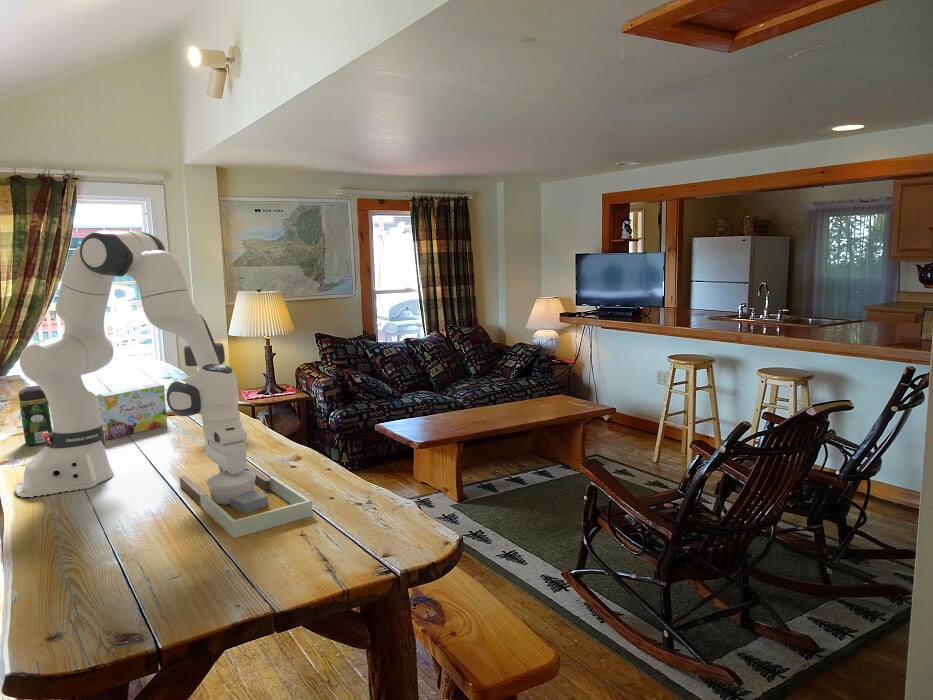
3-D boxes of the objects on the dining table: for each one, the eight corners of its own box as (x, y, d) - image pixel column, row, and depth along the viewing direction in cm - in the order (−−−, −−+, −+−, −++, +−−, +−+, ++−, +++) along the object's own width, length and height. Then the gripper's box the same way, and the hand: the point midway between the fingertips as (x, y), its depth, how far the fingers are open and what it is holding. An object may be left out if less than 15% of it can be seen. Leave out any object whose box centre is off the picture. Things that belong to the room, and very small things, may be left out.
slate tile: (244, 514, 150) (243, 503, 150) (231, 508, 154) (230, 498, 154) (268, 506, 155) (267, 496, 154) (254, 500, 159) (253, 490, 158)
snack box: (109, 440, 217) (104, 395, 215) (100, 438, 220) (95, 394, 218) (168, 425, 235) (164, 383, 232) (159, 423, 237) (154, 382, 235)
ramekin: (241, 508, 153) (239, 486, 153) (198, 505, 156) (196, 484, 155) (266, 491, 164) (264, 470, 163) (226, 488, 167) (224, 468, 166)
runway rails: (202, 506, 155) (201, 496, 155) (180, 486, 170) (179, 476, 170) (272, 489, 165) (271, 480, 165) (245, 471, 180) (245, 462, 180)
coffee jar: (24, 441, 219) (17, 386, 216) (53, 437, 223) (46, 383, 221) (24, 447, 211) (17, 390, 208) (54, 443, 215) (47, 387, 213)
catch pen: (233, 538, 137) (232, 522, 137) (201, 507, 155) (199, 492, 154) (312, 515, 148) (311, 500, 147) (273, 489, 166) (272, 475, 165)
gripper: (197, 423, 171) (201, 475, 173) (223, 439, 155) (227, 495, 157) (221, 419, 175) (225, 469, 177) (249, 434, 159) (253, 489, 161)
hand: (227, 482), depth 167 cm, fingers closed
